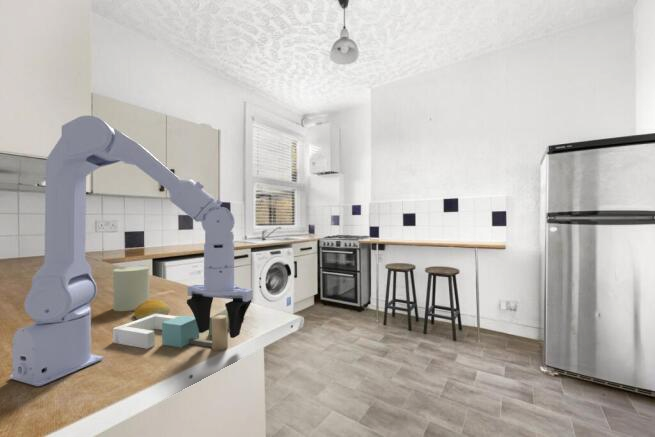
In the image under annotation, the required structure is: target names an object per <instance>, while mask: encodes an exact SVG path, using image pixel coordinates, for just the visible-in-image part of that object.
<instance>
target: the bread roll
mask: <svg viewBox="0 0 655 437" xmlns="http://www.w3.org/2000/svg"><path fill="white" fill-rule="evenodd" d="M170 311H171V309H170V306H169V305H168V304H167V303H166V302H164V301H162V300H160V299H149V300H147V301H144V302H143V303H141V304H140V305H138V306H137V307H136V308H135V310H133V314H134V317H135V318H136V320H139V319H142V318H144V317H147V316H150V315H153V314H163V315H169V313H170Z"/></svg>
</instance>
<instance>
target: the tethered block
mask: <svg viewBox="0 0 655 437" xmlns="http://www.w3.org/2000/svg"><path fill="white" fill-rule="evenodd" d="M177 316H178V317H176V318H173V319H170V320H168V321H165V322H163V323H162V330H161V345H162V346H167V347H168V346H169V347H174V348H181V349H182V348H183V347H185V346H187V345H189V344H190V345H191V344H192V345H196V346H202V347H203V346H204V347H209V348H210V347H211V350H212V351H223V350H225V349H227V348H228V346H229V343H228V342H229V341H228V340H229V339H228V337H229V336H228V331H229V329H228V320H227V316H226V315H218V316H214V315H213V316H214V317H213V316H211V317H212V335H211V340H207V339H201V338H200V333H199V330H198V326H197V323H196V319H195V317H194V316H189V315H177Z"/></svg>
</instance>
